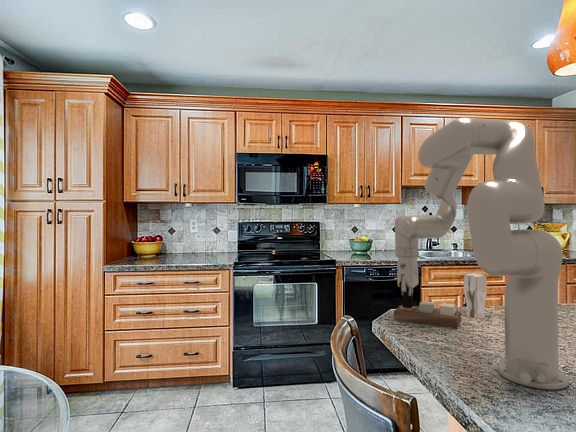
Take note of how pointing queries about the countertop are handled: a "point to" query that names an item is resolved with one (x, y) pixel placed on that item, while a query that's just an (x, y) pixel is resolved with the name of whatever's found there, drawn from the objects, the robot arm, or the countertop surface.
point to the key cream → (447, 309)
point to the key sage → (427, 307)
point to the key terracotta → (407, 308)
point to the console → (428, 317)
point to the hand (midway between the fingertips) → (407, 307)
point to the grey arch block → (475, 294)
